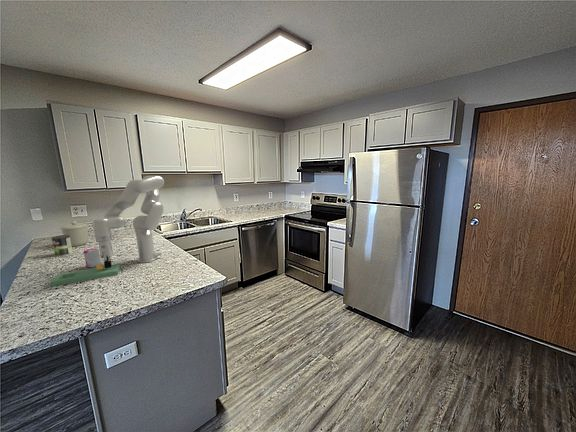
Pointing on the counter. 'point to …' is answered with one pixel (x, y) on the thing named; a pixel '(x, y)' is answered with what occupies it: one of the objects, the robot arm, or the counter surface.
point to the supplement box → (92, 258)
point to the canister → (76, 233)
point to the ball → (100, 267)
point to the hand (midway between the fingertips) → (108, 267)
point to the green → (84, 275)
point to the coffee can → (62, 245)
